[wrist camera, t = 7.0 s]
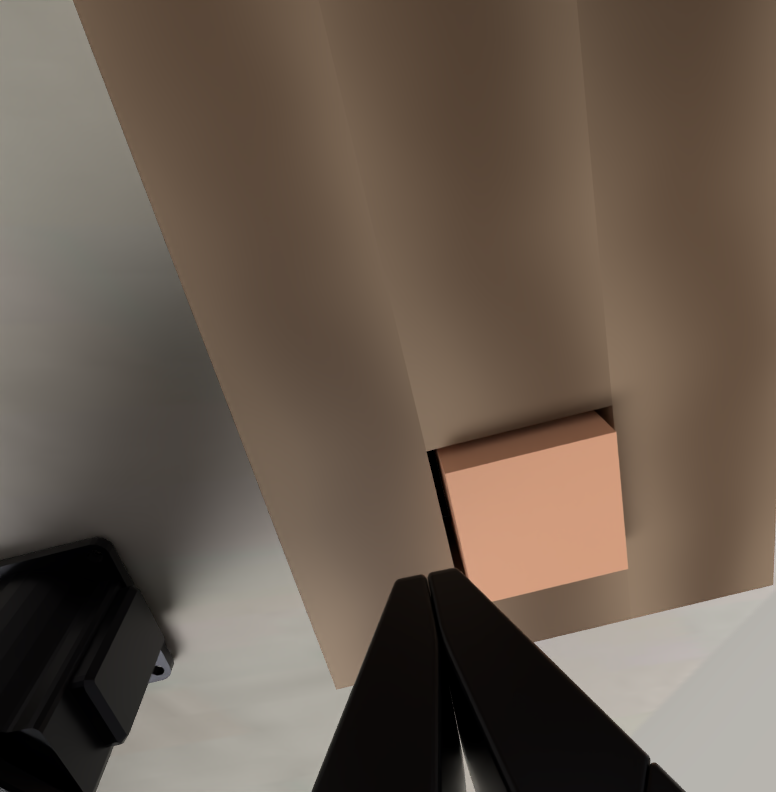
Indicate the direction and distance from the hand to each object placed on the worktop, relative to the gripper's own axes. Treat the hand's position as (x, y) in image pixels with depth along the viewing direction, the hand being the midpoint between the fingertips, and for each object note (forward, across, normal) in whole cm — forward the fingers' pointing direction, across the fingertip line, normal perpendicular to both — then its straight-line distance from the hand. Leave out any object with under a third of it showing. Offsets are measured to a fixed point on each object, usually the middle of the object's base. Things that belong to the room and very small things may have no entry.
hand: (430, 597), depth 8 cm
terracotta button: (+10, -3, +4) cm, 11 cm away
